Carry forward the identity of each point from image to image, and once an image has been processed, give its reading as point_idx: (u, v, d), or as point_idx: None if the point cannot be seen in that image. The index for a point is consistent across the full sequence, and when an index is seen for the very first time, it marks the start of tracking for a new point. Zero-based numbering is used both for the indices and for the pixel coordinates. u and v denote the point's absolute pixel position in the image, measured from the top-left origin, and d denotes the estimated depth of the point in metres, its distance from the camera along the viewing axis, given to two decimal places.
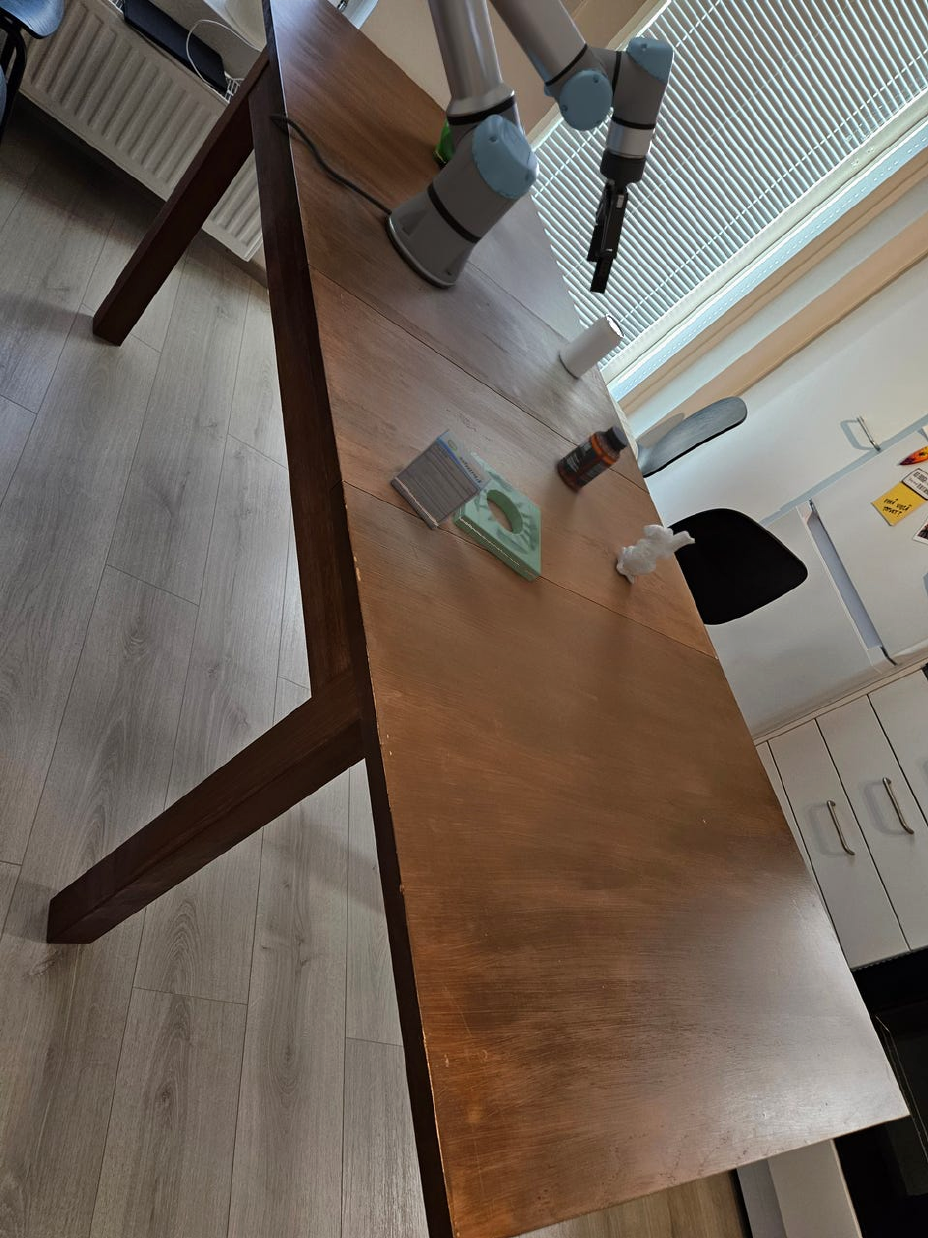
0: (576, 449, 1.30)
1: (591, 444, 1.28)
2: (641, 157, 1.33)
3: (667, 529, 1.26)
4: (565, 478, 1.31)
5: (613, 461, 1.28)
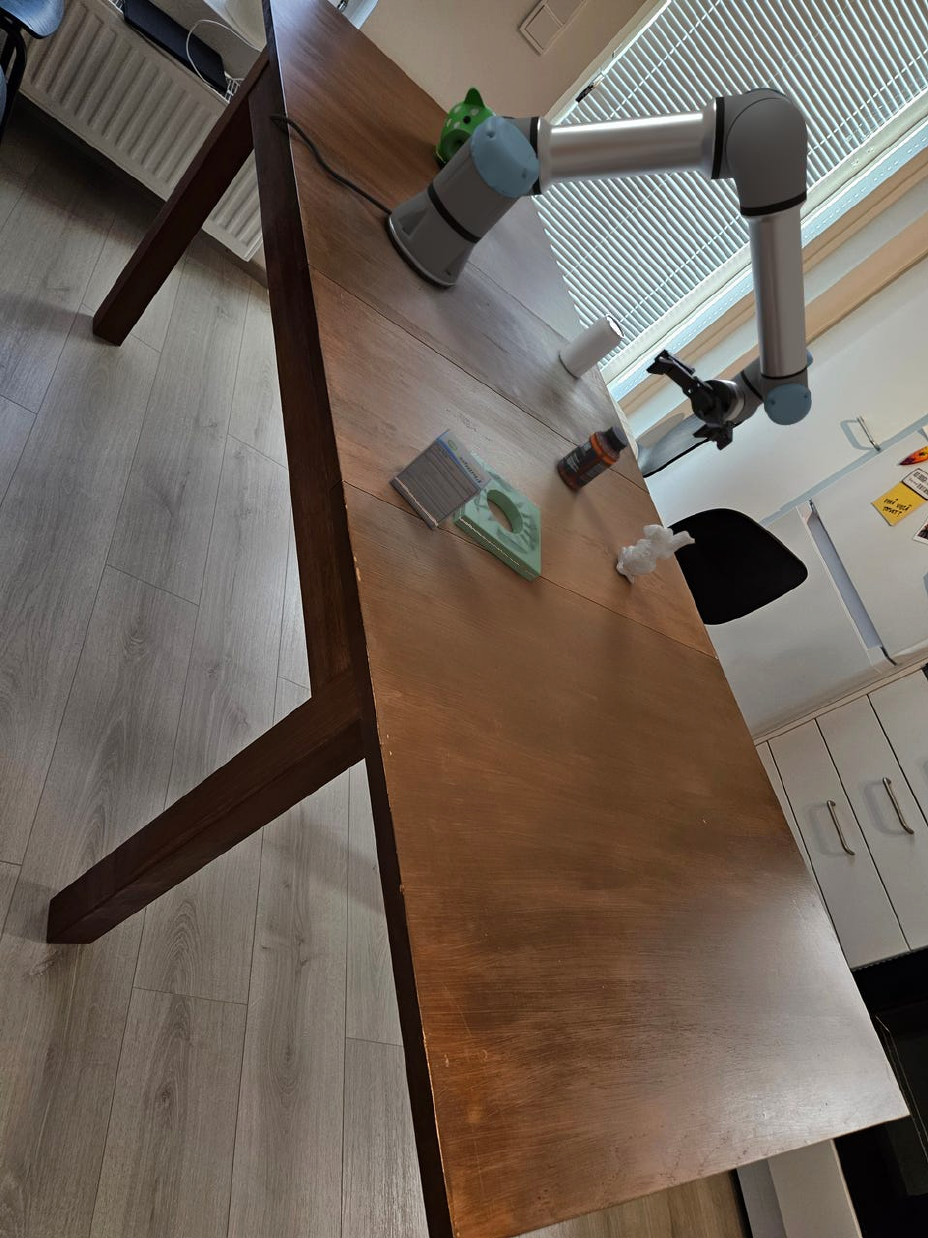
0: (576, 449, 1.30)
1: (591, 444, 1.28)
2: None
3: (667, 529, 1.26)
4: (565, 478, 1.31)
5: (613, 461, 1.28)
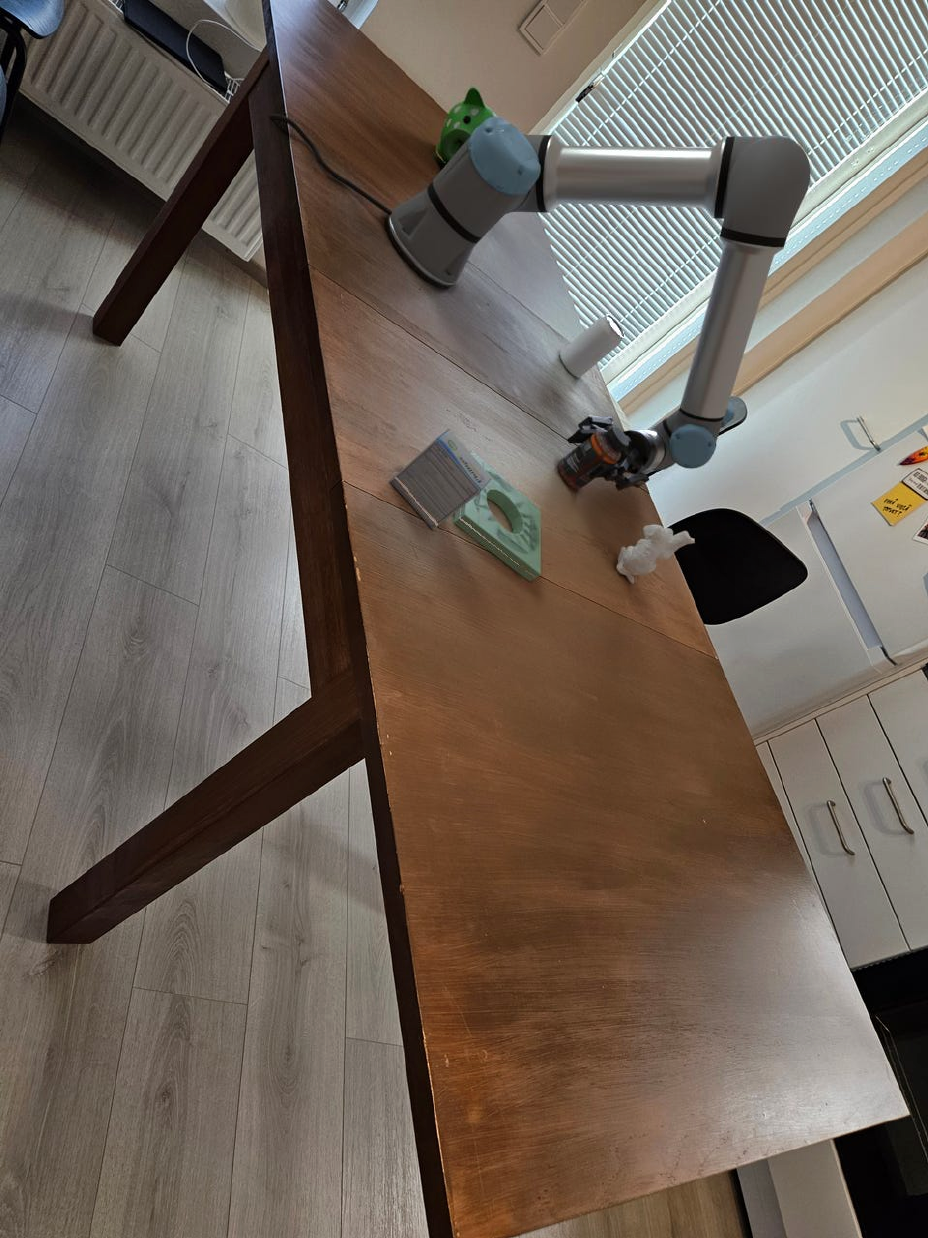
0: (576, 449, 1.30)
1: (591, 445, 1.28)
2: None
3: (667, 529, 1.26)
4: (565, 478, 1.31)
5: (613, 461, 1.28)
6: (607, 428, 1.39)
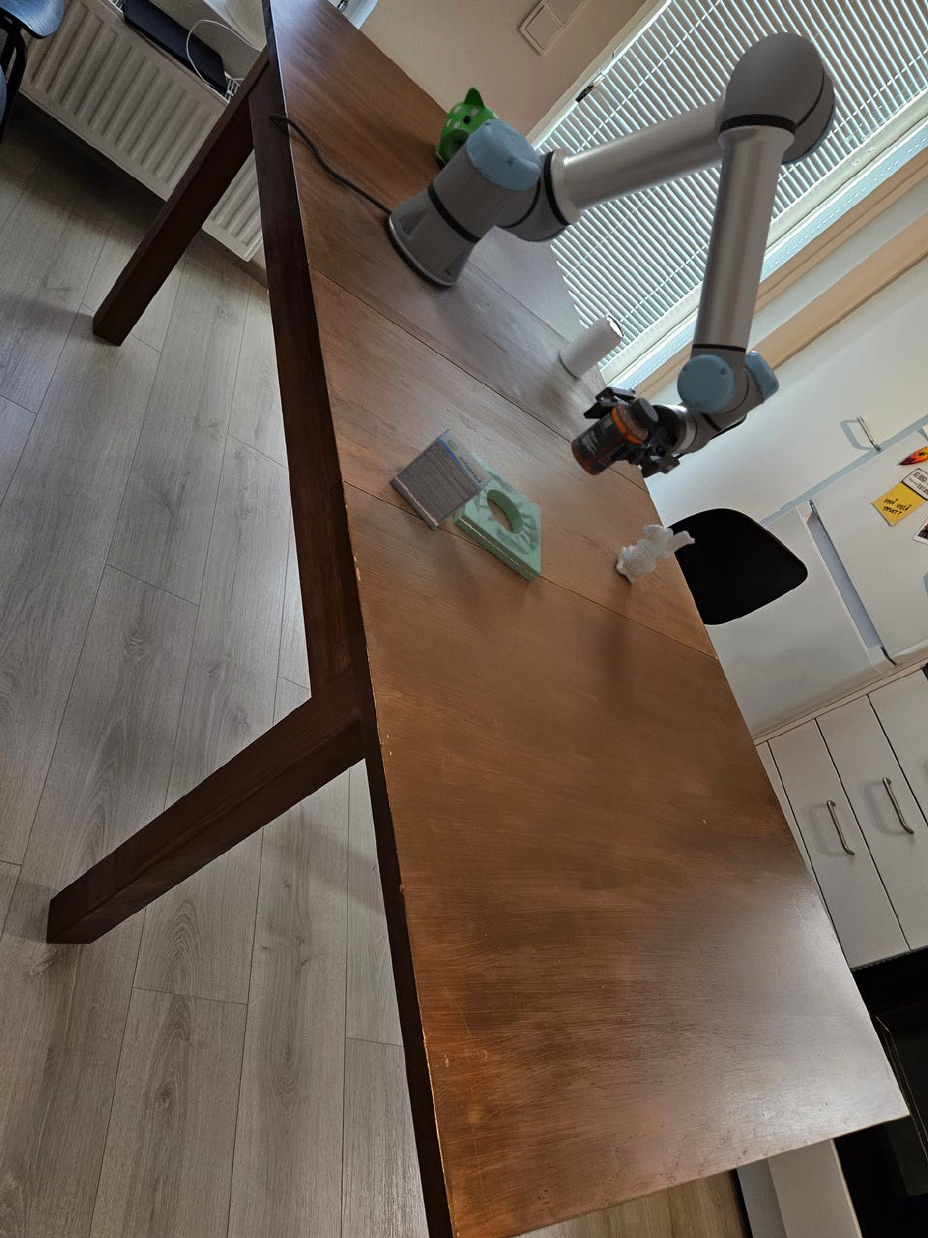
0: (594, 426, 1.07)
1: (612, 420, 1.04)
2: None
3: (667, 529, 1.26)
4: (580, 462, 1.08)
5: (639, 441, 1.05)
6: (629, 402, 1.16)
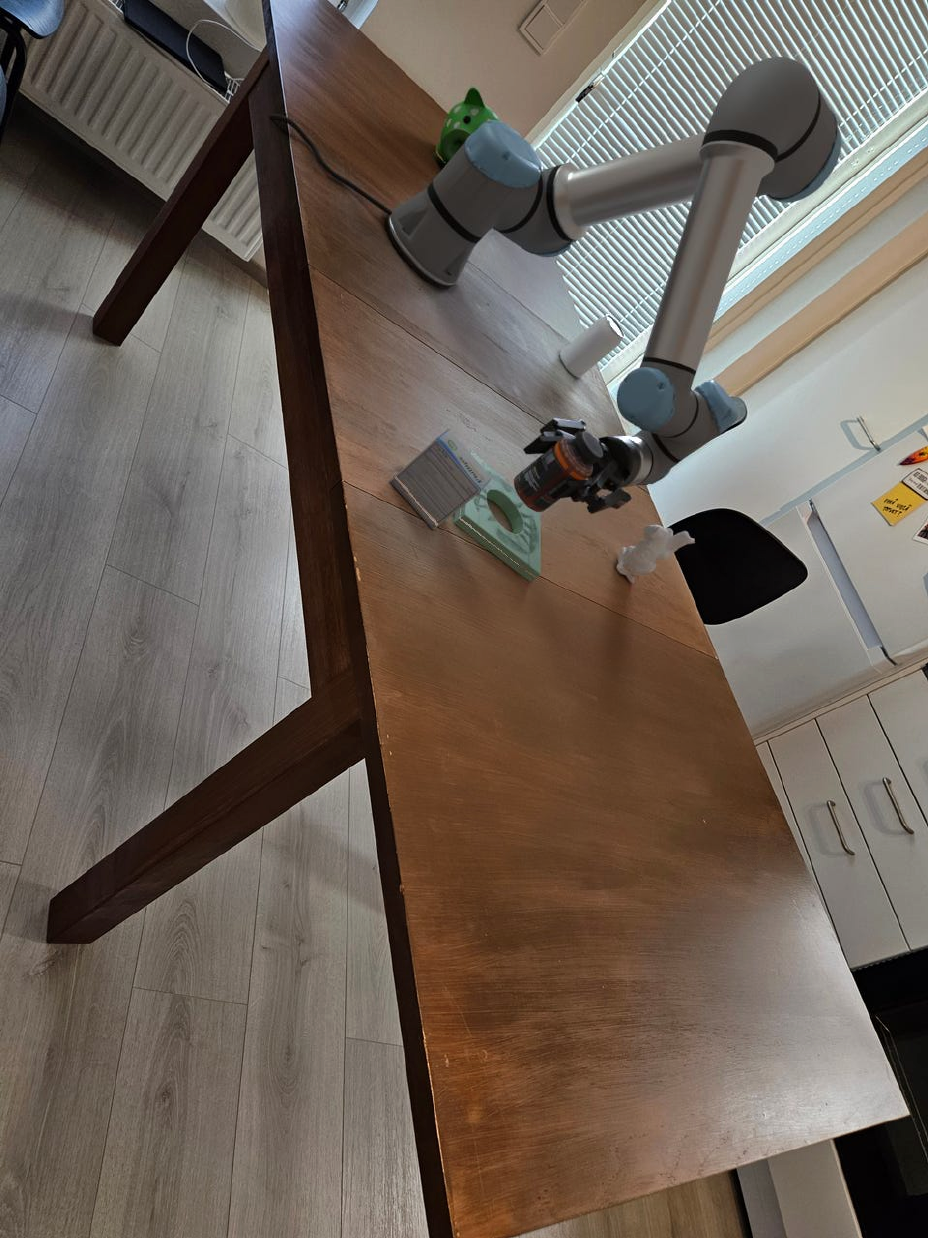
0: (536, 461, 1.01)
1: (554, 456, 0.99)
2: None
3: (667, 529, 1.26)
4: (522, 498, 1.02)
5: (583, 477, 1.00)
6: (578, 434, 1.10)
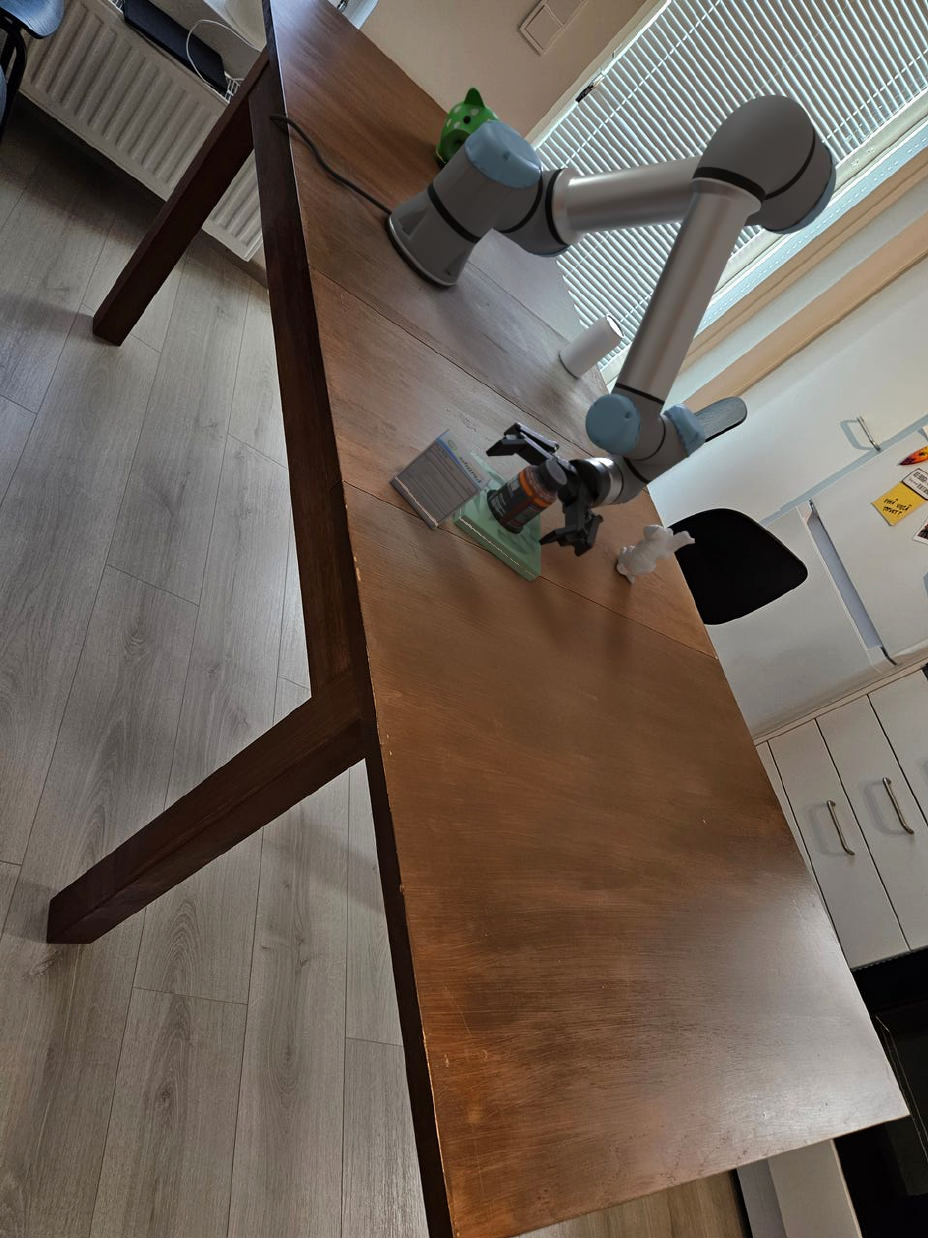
0: (503, 488, 1.05)
1: (519, 483, 1.02)
2: None
3: (667, 529, 1.26)
4: None
5: (547, 504, 1.03)
6: (548, 453, 1.14)
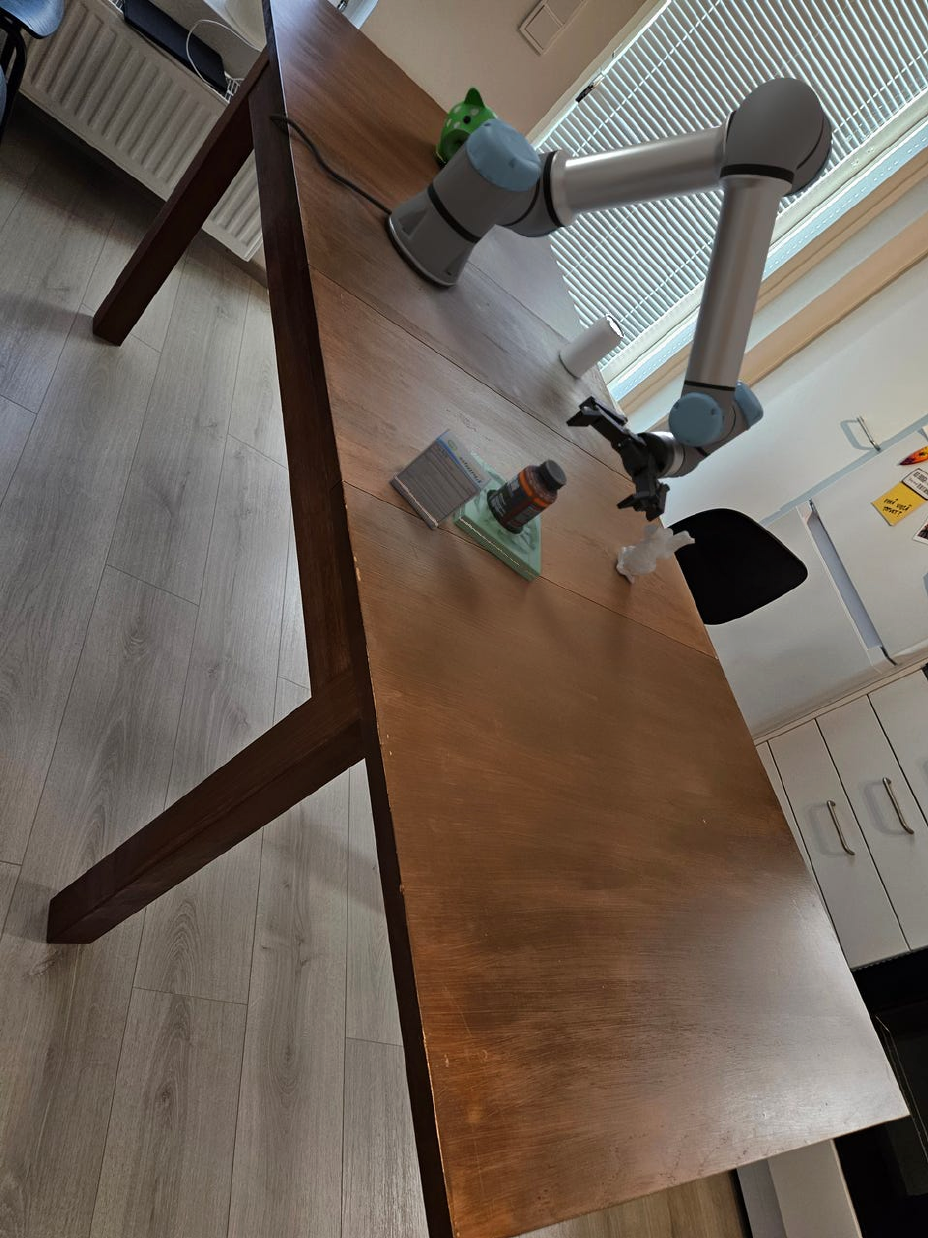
0: (503, 488, 1.05)
1: (519, 483, 1.02)
2: None
3: (667, 529, 1.26)
4: None
5: (547, 503, 1.03)
6: None
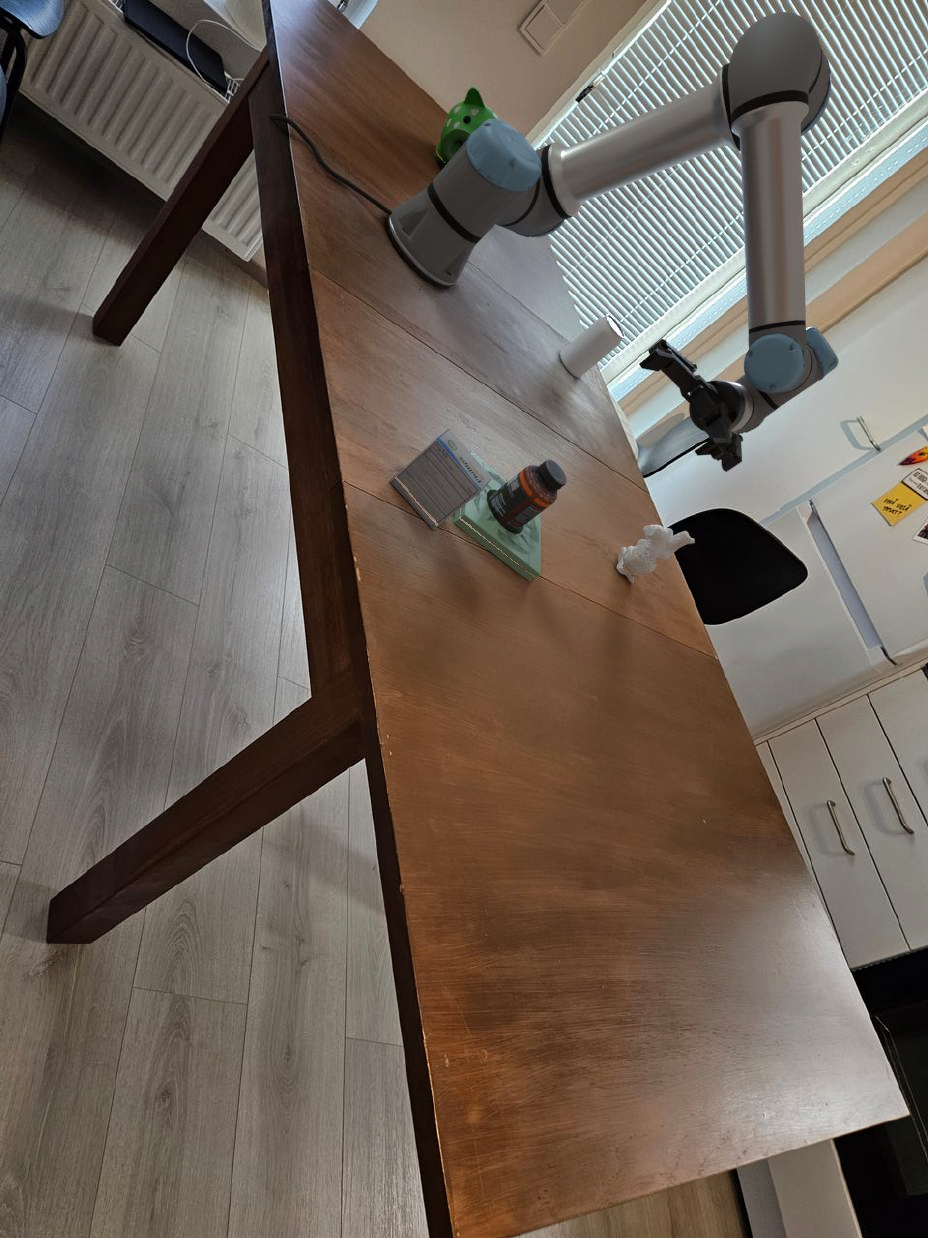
0: (503, 488, 1.05)
1: (519, 483, 1.02)
2: None
3: (667, 529, 1.26)
4: None
5: (547, 503, 1.03)
6: None
